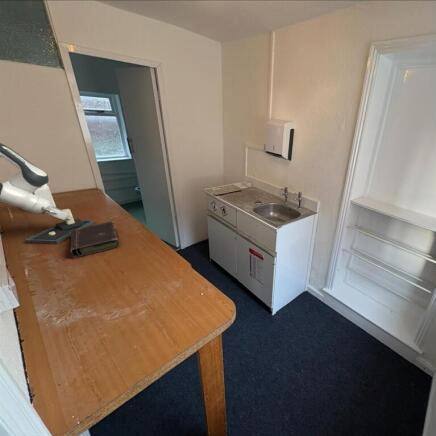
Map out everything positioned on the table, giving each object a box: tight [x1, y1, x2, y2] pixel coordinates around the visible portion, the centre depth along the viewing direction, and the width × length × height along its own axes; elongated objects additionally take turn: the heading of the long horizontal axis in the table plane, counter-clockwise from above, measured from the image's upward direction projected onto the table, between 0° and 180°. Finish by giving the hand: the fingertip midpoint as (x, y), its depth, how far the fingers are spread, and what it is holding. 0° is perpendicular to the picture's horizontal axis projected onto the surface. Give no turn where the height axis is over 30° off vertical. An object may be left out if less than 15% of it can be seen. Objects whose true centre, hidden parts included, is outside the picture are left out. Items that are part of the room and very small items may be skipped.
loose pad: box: [55, 208, 86, 230], centre depth 130 cm, size 10×10×9 cm
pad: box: [34, 230, 71, 240], centre depth 121 cm, size 10×10×2 cm
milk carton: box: [32, 183, 57, 208], centre depth 149 cm, size 7×7×19 cm
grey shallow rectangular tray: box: [24, 219, 96, 245], centre depth 127 cm, size 15×25×2 cm, turn 1°
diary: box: [69, 221, 120, 259], centre depth 118 cm, size 19×25×5 cm
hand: (69, 217), depth 130 cm, fingers open, 3 cm apart
